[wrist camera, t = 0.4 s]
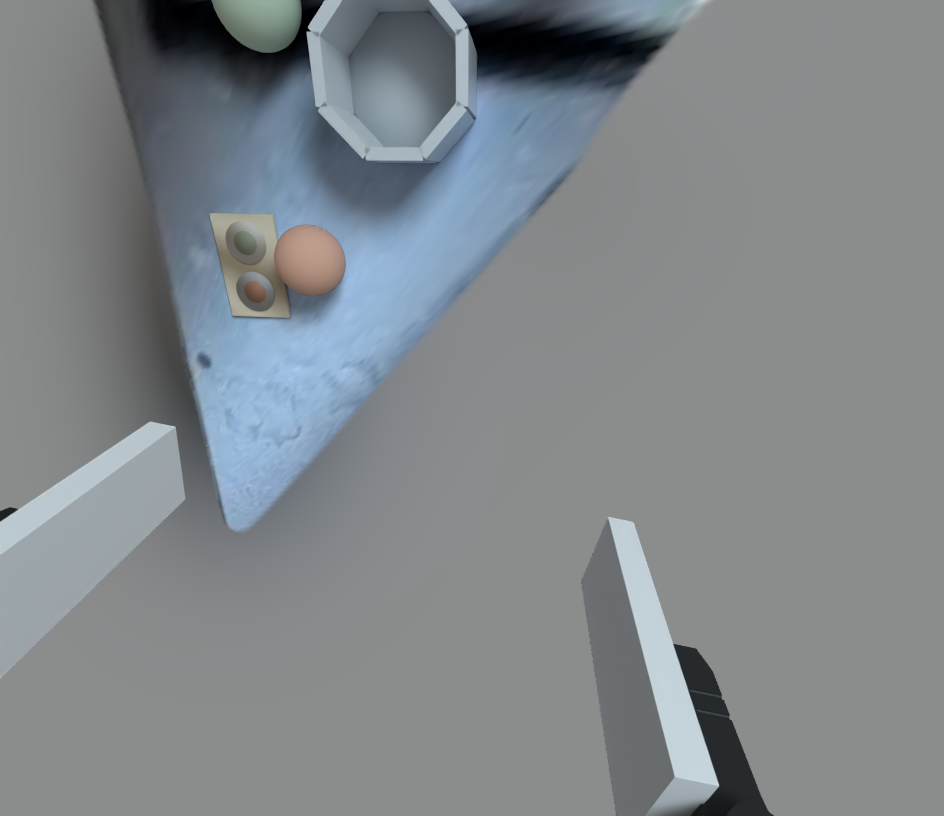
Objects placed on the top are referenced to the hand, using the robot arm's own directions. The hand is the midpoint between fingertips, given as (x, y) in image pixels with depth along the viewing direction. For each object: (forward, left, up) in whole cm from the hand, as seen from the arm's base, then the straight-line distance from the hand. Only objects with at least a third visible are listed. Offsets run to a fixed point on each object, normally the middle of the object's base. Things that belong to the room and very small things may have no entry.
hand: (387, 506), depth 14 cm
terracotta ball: (-3, -12, -26) cm, 28 cm away
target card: (-2, -18, -26) cm, 31 cm away
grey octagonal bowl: (-14, -4, -26) cm, 30 cm away
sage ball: (-18, -13, -26) cm, 34 cm away
